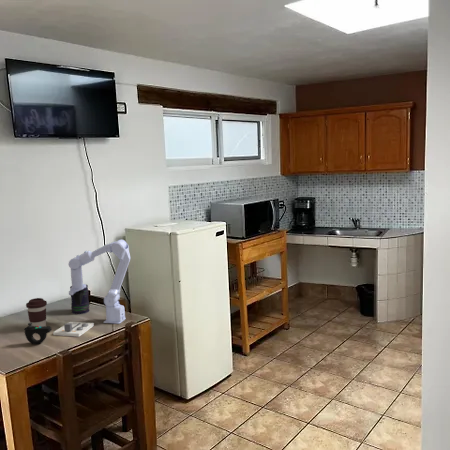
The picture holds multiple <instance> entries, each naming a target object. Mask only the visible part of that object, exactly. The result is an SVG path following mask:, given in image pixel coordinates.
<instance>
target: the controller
mask: <svg viewBox="0 0 450 450" xmlns="http://www.w3.org/2000/svg"><path fill="white" fill-rule="evenodd" d="M27 325H28V326H26V327H24V335H25V338H26V340H27V341H28V342H29V343H30V344H31V345H32V344H34V345H38V344H41V343H43V342H44V341H45V340H46V338H47V336H48V334H49V333H50V332H51V331H52V330H53V329H52V327H51V326H49V325H46V326H32V323H30V322H28V323H27ZM34 334H36V335H38V336H39V339H35V338H34Z"/></svg>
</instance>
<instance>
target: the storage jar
mask: <svg viewBox="0 0 450 450" xmlns="http://www.w3.org/2000/svg"><path fill="white" fill-rule="evenodd" d="M71 287H72V285H70V287H69V291H70V290H71V289H70V288H71ZM83 290H84V291H85V292H84V294H83V297H82V302H81V304H80V305H77V304H76V302H75V299H74V297H73V296H72V295H69V297H70V298H71V304H70V305H71V307H70V308H71V313H72V314H73V315H84V314H87V313H89V312H90V301H89V287H88V284H86V288H84V289H83Z"/></svg>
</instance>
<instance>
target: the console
mask: <svg viewBox="0 0 450 450" xmlns="http://www.w3.org/2000/svg"><path fill="white" fill-rule="evenodd" d="M67 323H72V331H65V328H64V325H62V326H60V328H57V329H56V330H54V331H53V332H52V333H53V336H61V337H63V336H64V337H75V338H76V337H79V338H80V337H81V336H82V335H83V334H85V333H86V332H87V331H89V330H90V329H91V328H93V327H94V326H95V323H94V322H80V321H79V322H77V321H68V322H67Z"/></svg>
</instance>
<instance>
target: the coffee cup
mask: <svg viewBox="0 0 450 450" xmlns="http://www.w3.org/2000/svg"><path fill="white" fill-rule="evenodd" d="M47 305H48V303H47V300H45V299H44V298H42V297H36V298H32V299H29V301H28V302H27V303H26V304H25V306H26V307H25V308H27V315H28V321H29V323H32V326H47Z"/></svg>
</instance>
